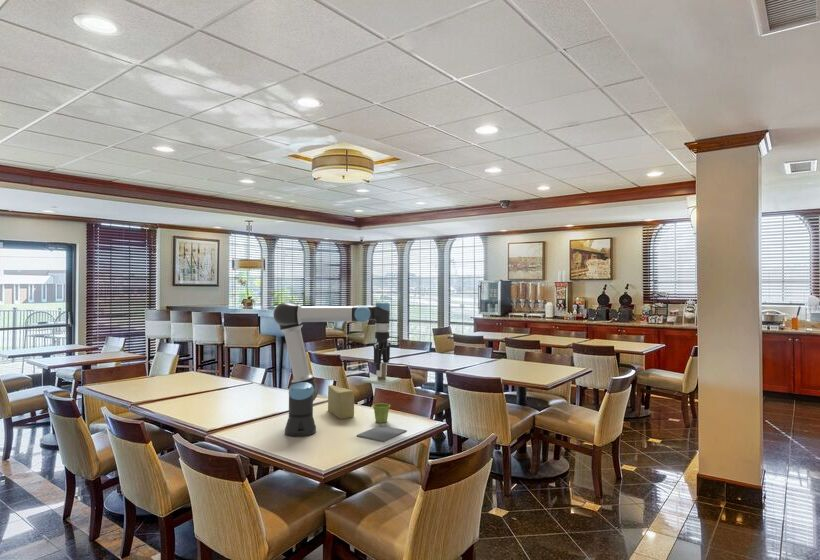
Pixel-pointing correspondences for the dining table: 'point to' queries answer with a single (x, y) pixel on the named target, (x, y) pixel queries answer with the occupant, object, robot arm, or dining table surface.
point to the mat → (381, 433)
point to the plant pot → (381, 412)
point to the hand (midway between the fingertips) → (381, 375)
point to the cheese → (340, 402)
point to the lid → (381, 378)
